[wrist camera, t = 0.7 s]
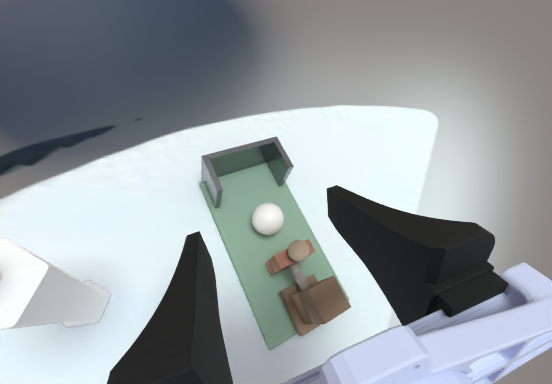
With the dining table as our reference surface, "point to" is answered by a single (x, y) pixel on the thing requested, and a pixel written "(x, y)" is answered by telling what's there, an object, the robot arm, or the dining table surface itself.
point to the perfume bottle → (44, 292)
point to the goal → (244, 164)
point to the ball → (267, 218)
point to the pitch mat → (264, 245)
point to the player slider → (307, 290)
